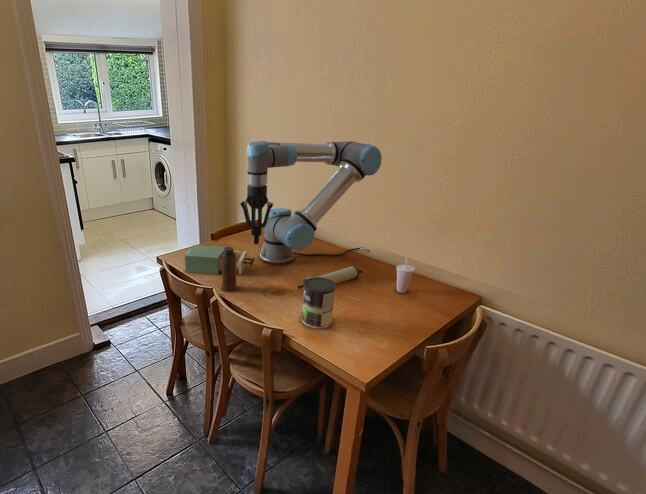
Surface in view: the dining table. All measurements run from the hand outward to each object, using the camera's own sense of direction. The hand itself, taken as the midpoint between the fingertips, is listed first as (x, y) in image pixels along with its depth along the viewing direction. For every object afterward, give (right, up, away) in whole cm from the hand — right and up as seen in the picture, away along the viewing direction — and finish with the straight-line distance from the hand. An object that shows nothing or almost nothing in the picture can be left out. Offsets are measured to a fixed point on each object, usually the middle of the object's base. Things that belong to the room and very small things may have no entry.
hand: (256, 242), depth 165 cm
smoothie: (+56, -19, -6) cm, 60 cm away
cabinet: (-22, -10, +16) cm, 28 cm away
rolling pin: (+30, -17, 0) cm, 34 cm away
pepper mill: (-11, -18, -3) cm, 21 cm away
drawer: (-9, -10, +13) cm, 19 cm away
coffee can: (+20, -29, -25) cm, 43 cm away
